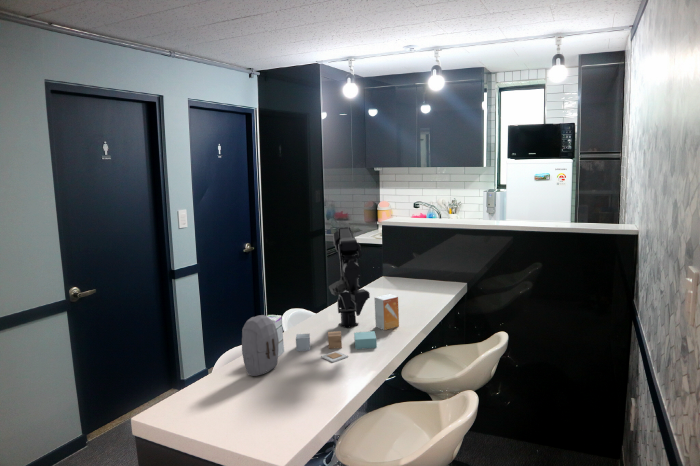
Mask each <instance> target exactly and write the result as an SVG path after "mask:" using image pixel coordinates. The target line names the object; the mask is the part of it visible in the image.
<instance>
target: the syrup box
mask: <svg viewBox="0 0 700 466" xmlns="http://www.w3.org/2000/svg"><path fill="white" fill-rule="evenodd" d="M266 316H267V317H268V318H270V319H271V320H272V321H273V322H274V324H275V327H276V330H277V334H278V340H279V342H278V358H279V357H280V356H282V354H283V353H285V344H284V331H283V319H282V315H278V314H277V315H276V314H267V315H266Z"/></svg>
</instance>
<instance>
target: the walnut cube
mask: <svg viewBox="0 0 700 466" xmlns="http://www.w3.org/2000/svg"><path fill="white" fill-rule="evenodd" d="M327 341H328V344H327V345H328V349H330V350H331V349H333V350H334V349H342V348H343V344H342V343H343V342H342V341H343V340H342V331H341V330H339V331H328V332H327Z"/></svg>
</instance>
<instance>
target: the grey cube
mask: <svg viewBox="0 0 700 466" xmlns="http://www.w3.org/2000/svg"><path fill="white" fill-rule="evenodd" d="M310 336H311V335H310V333H297V334H296V336H295V346H296V352H304V351H311V337H310Z"/></svg>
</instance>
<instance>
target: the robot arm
mask: <svg viewBox="0 0 700 466" xmlns="http://www.w3.org/2000/svg"><path fill="white" fill-rule="evenodd" d="M333 246H334V247H335V250H336V252H337V253H338V257H339V263H340V264H339V265H340V266H339V267H340V277H339V280H337V281H335V282H333V283H331V284H330V285H328V289H329V291H330V293H331V295H333V296H335V297H338V299H337V301H336V302H337V312H338V314H340V323H338V324H337V325H338V326H340V327H343V328H347V329H349V328H352V327H354V326H359V322H357V320H356V319H357V316H358V317H359V316H361V313H362V312H363V311H362V310H363V309H364V306H365V304H366V302H367V300H368V299H370V297H371V296H370V292H369V291H368V290H366V289H364V288H362V287H361V285H359V279H360V278H361V275H360V274H361V267H360V265H359V263H358V260H361V258H362V257H363V256H362V255H363V254H362V247H361V244H360V242H358V240H357V238H355V237H354V232H353V231H352V230H351V227H350V226H340V227H338V228H337V230H336V231H335V232H334V233H333Z"/></svg>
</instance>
